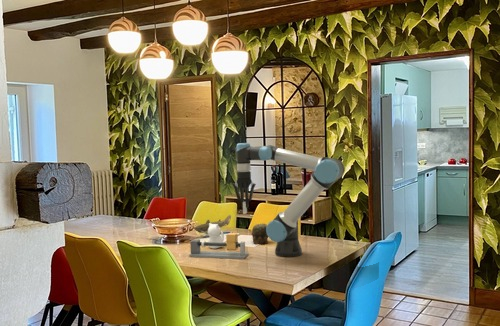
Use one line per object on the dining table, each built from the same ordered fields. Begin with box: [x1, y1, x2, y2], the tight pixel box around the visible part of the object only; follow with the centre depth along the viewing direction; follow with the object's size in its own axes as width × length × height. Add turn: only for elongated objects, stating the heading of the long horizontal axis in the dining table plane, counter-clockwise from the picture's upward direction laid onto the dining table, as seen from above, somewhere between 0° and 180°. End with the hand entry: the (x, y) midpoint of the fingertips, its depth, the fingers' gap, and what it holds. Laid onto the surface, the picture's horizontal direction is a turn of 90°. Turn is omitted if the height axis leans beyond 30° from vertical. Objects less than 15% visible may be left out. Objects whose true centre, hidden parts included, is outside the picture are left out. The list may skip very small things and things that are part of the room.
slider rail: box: [188, 238, 249, 260], centre depth 284 cm, size 32×10×8 cm, turn 75°
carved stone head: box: [251, 223, 269, 245], centre depth 313 cm, size 11×11×12 cm
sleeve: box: [226, 232, 239, 251], centre depth 281 cm, size 5×5×9 cm
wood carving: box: [193, 214, 232, 237], centre depth 343 cm, size 9×35×11 cm, turn 139°
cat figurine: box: [207, 222, 225, 249], centre depth 305 cm, size 9×12×15 cm
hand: (245, 213), depth 278 cm, fingers closed
